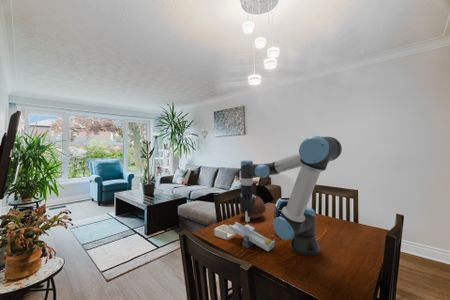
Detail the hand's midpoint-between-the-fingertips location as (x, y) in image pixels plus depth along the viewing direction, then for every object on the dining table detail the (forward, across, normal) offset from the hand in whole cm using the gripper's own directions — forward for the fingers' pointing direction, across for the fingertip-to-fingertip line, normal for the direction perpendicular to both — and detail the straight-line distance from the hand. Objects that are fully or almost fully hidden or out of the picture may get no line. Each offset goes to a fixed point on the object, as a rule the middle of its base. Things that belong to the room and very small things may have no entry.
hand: (247, 221), depth 129 cm
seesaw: (+6, -6, +4) cm, 9 cm away
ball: (+6, -18, +7) cm, 20 cm away
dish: (+10, +14, +7) cm, 18 cm away
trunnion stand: (+10, -6, +7) cm, 14 cm away
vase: (+11, +16, -30) cm, 36 cm away
